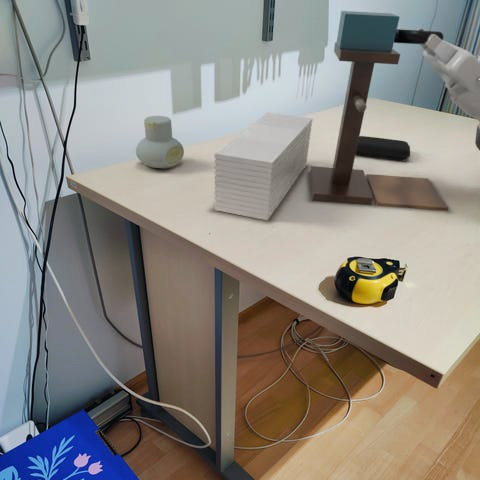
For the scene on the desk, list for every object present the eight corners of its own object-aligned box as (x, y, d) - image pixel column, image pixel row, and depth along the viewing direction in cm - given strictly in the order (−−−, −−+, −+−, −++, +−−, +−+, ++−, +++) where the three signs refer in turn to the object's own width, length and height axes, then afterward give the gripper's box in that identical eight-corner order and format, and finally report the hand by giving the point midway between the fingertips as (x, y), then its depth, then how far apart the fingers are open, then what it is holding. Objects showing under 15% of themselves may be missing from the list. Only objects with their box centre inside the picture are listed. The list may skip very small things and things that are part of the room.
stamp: (433, 49, 78) (443, 16, 75) (444, 54, 73) (455, 19, 70) (336, 43, 79) (341, 10, 76) (339, 48, 74) (345, 13, 70)
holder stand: (361, 174, 99) (390, 43, 83) (372, 207, 85) (410, 57, 69) (309, 170, 100) (328, 39, 83) (312, 202, 86) (336, 53, 69)
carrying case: (408, 150, 114) (353, 143, 117) (411, 139, 113) (355, 132, 115) (408, 163, 107) (349, 155, 109) (412, 151, 105) (352, 143, 107)
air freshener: (161, 154, 104) (158, 111, 98) (189, 161, 101) (187, 117, 95) (131, 167, 97) (126, 121, 91) (160, 175, 94) (156, 127, 88)
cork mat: (426, 180, 98) (427, 178, 97) (446, 210, 85) (447, 207, 85) (365, 176, 98) (366, 174, 98) (376, 205, 86) (377, 202, 86)
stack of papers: (267, 220, 79) (272, 162, 72) (214, 210, 81) (214, 153, 74) (306, 165, 102) (312, 118, 95) (264, 159, 105) (267, 112, 98)
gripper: (481, 113, 72) (422, 62, 68) (447, 88, 88) (398, 45, 84) (514, 77, 68) (454, 21, 64) (473, 58, 84) (422, 12, 80)
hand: (422, 35), depth 74 cm, fingers open, 8 cm apart
